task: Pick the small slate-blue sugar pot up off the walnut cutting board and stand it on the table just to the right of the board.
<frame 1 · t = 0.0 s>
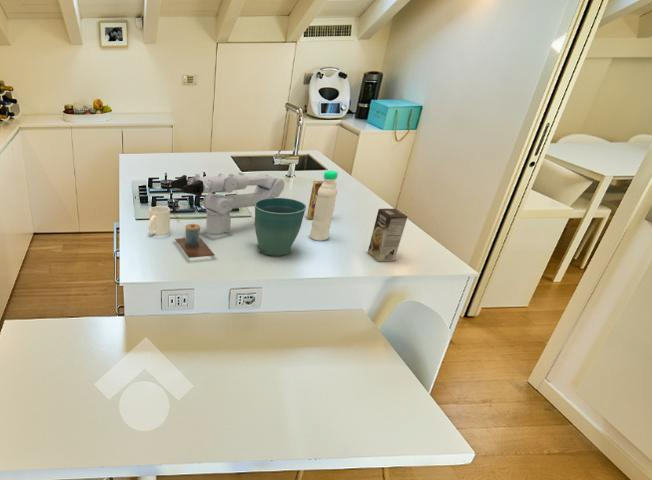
hand: (177, 187, 185), 22 cm above the table, tool horizontal, fingers open, 7 cm apart
candy box: (317, 218, 220), on the table
coffee box: (380, 257, 185), on the table
cutting board: (194, 250, 192), on the table
mug: (157, 236, 206), on the table
flower pot: (273, 251, 191), on the table
water bottle: (318, 238, 201), on the table
sugar pot: (192, 243, 194), point 1 cm above the table, touching cutting board
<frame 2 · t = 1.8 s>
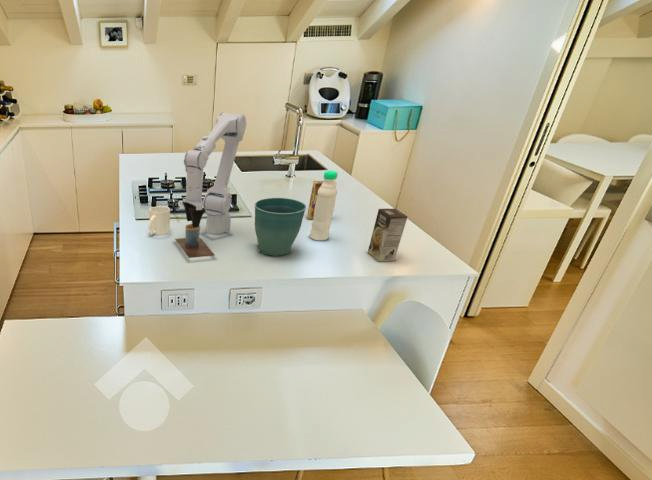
hand: (192, 224, 189), 9 cm above the table, tool pointing down, fingers open, 7 cm apart
nothing on the table moved.
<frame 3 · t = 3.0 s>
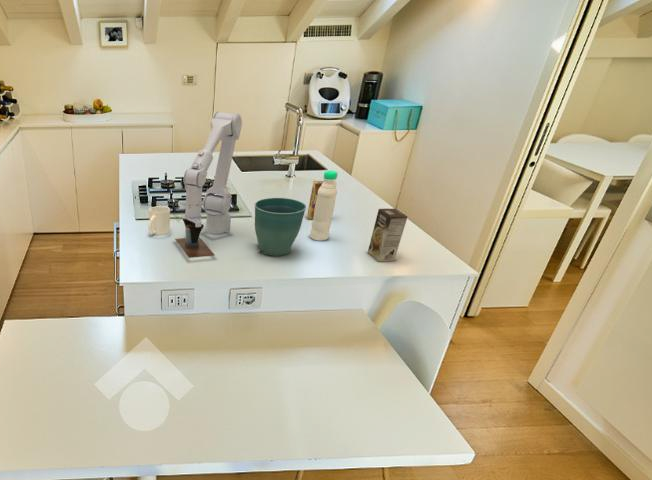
hand: (192, 239, 193), 3 cm above the table, tool pointing down, fingers closed on sugar pot, 5 cm apart
sugar pot: (192, 243, 194), point 2 cm above the table, touching cutting board, gripper
everything else where it was.
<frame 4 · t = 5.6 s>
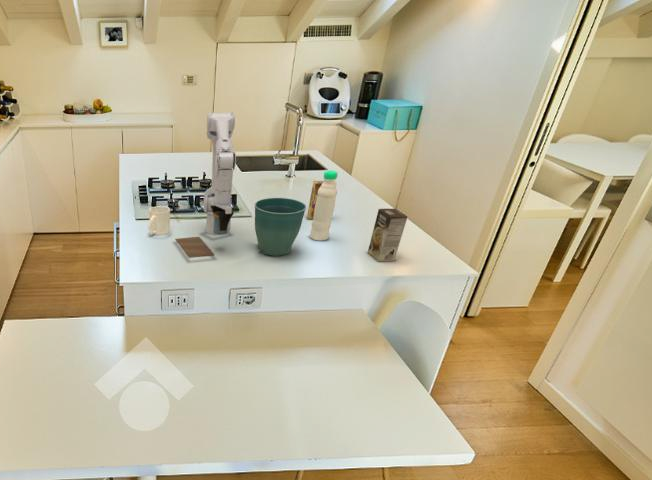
hand: (220, 227, 185), 9 cm above the table, tool pointing down, fingers closed on sugar pot, 5 cm apart
sugar pot: (220, 232, 186), point 8 cm above the table, touching gripper
everything else where it was.
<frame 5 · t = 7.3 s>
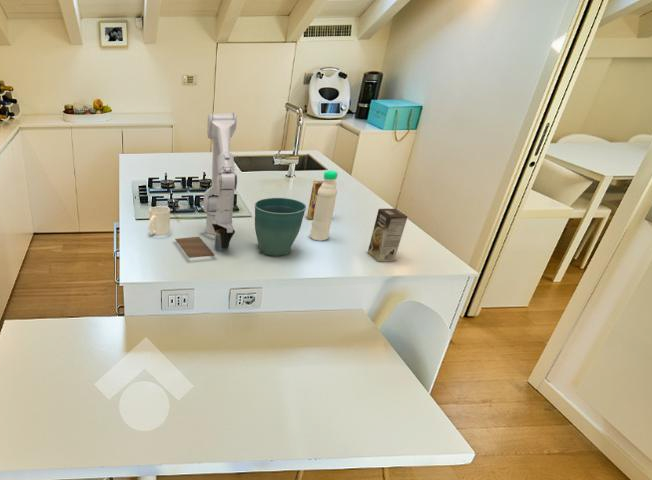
hand: (222, 245, 188), 3 cm above the table, tool pointing down, fingers closed on sugar pot, 5 cm apart
sugar pot: (221, 249, 189), point 1 cm above the table, touching gripper
everything else where it was.
when the fingers open (2 cm above the table, at t = 8.4 s): sugar pot stays where it is, on the table.
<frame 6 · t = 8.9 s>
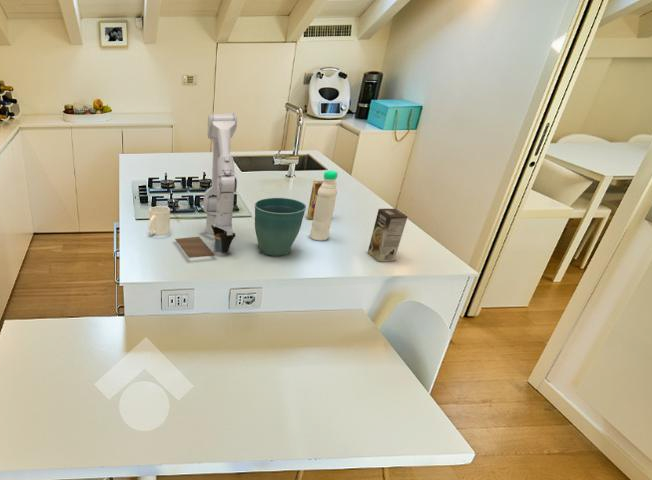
hand: (221, 247, 189), 2 cm above the table, tool pointing down, fingers open, 7 cm apart
sugar pot: (221, 253, 190), on the table
everything else where it was.
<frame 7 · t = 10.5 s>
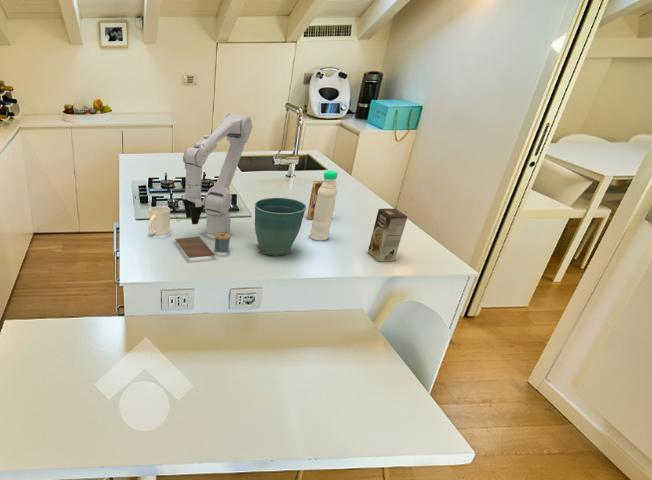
hand: (192, 220, 192), 9 cm above the table, tool pointing down, fingers open, 7 cm apart
nothing on the table moved.
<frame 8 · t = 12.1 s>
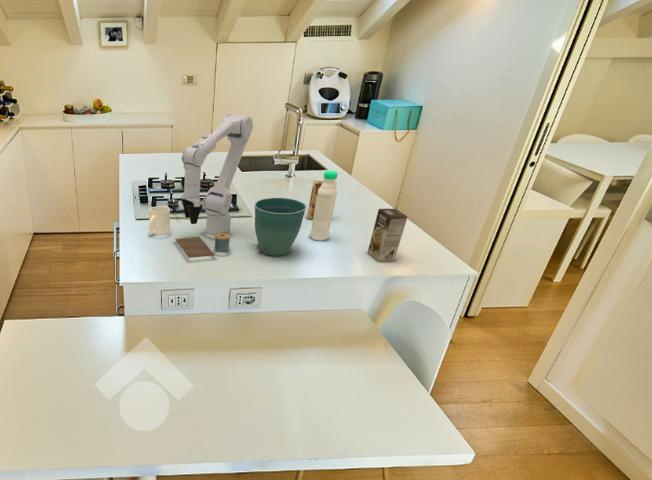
hand: (190, 220, 192), 9 cm above the table, tool pointing down, fingers open, 7 cm apart
nothing on the table moved.
at the end: sugar pot 0.0 cm from the target spot, on the table; sugar pot touching table; sugar pot tilted 0° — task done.
